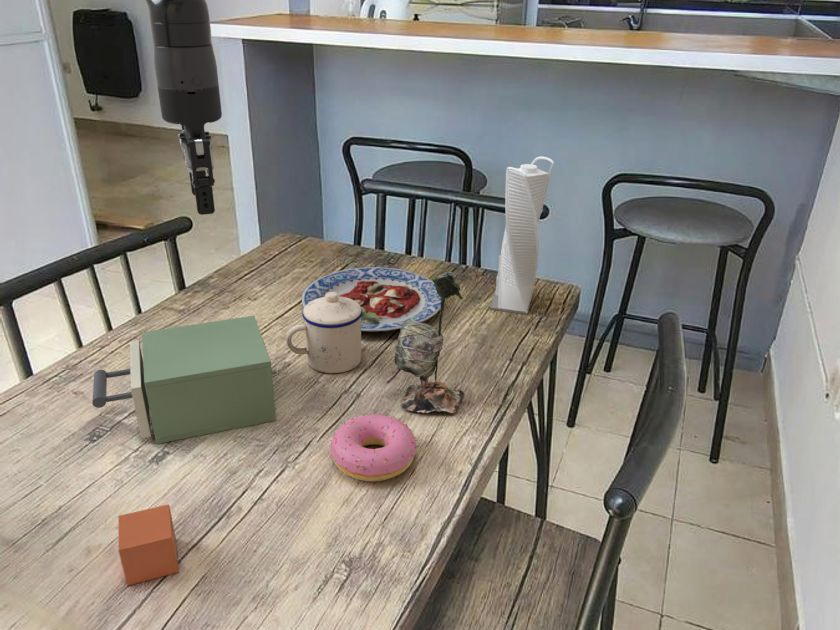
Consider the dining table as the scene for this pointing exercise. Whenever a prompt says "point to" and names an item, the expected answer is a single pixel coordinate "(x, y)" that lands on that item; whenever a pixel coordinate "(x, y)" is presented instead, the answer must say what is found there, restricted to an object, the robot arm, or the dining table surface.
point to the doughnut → (373, 461)
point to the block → (147, 544)
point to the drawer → (136, 392)
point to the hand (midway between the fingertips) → (203, 203)
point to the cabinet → (207, 378)
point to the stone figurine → (426, 357)
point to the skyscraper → (520, 237)
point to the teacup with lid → (330, 333)
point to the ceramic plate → (380, 295)
